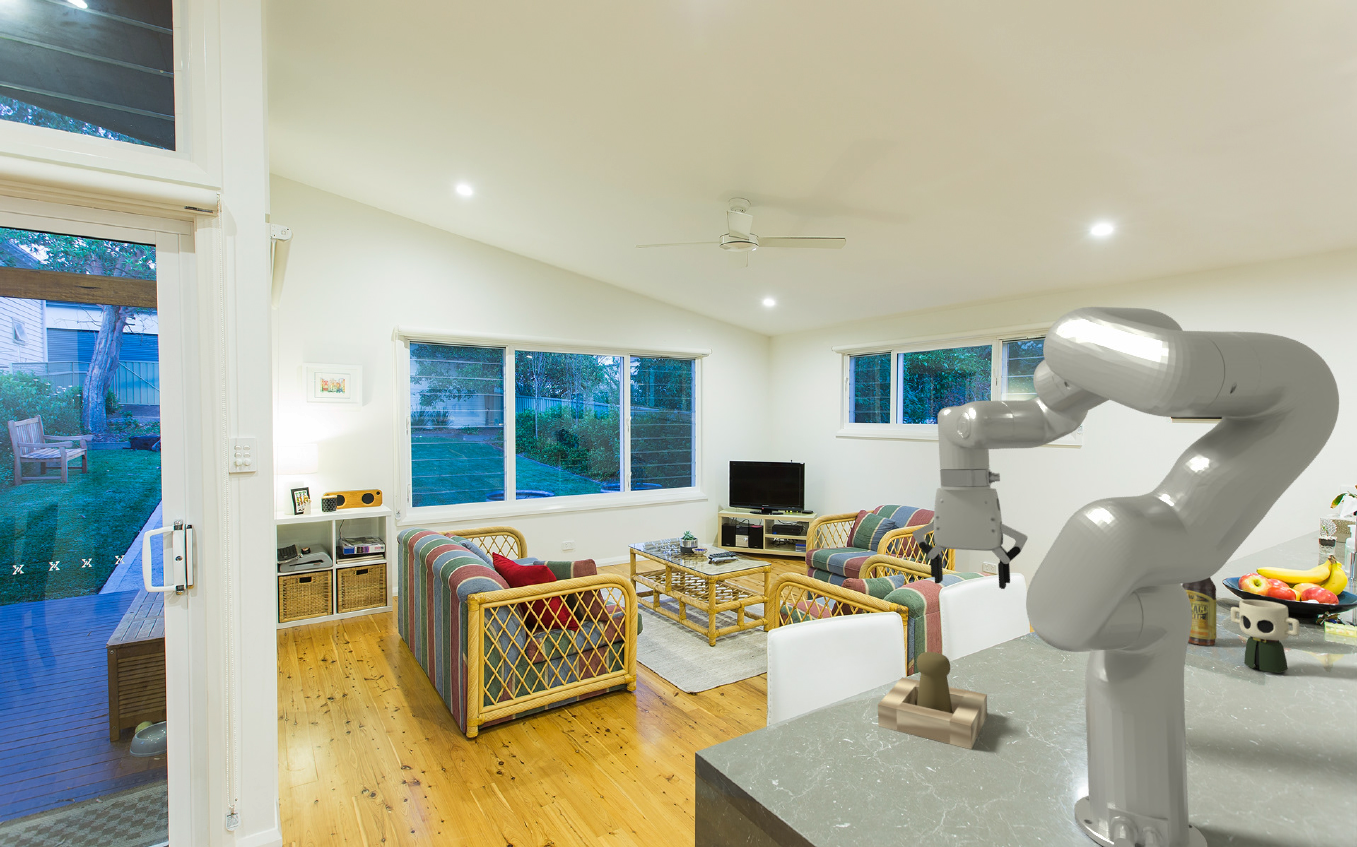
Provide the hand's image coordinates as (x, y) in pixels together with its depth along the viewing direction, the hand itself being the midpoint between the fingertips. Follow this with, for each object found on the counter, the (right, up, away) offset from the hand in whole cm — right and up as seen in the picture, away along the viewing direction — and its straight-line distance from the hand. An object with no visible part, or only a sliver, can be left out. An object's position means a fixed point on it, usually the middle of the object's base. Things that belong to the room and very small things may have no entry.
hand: (970, 584), depth 102 cm
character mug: (+69, -23, +21) cm, 75 cm away
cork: (-5, -23, +1) cm, 24 cm away
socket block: (-6, -23, +1) cm, 24 cm away
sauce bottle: (+69, -23, +38) cm, 82 cm away
